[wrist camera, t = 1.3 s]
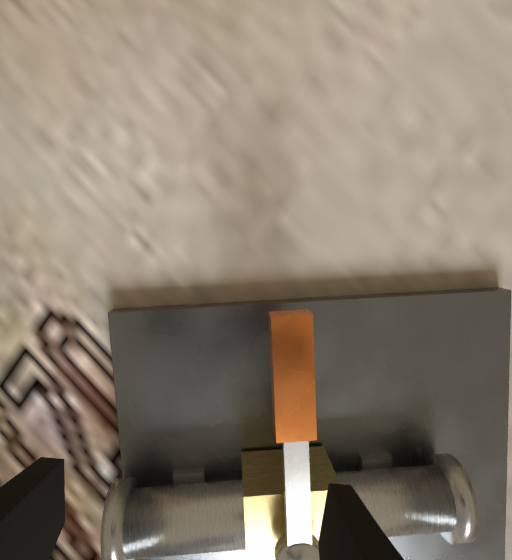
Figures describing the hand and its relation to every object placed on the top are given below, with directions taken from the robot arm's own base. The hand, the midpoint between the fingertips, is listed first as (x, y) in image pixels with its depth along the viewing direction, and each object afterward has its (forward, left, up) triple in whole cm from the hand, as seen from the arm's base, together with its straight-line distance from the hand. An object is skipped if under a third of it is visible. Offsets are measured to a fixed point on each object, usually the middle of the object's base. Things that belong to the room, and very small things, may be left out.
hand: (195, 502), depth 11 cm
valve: (+6, -6, -12) cm, 14 cm away
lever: (+4, -2, -6) cm, 7 cm away
